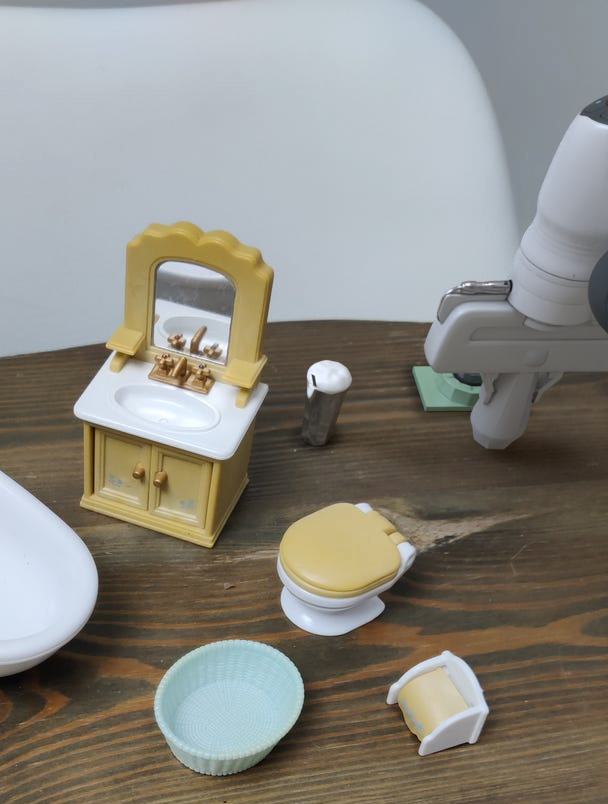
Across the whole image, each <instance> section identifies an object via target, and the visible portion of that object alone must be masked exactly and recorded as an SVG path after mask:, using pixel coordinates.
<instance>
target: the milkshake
mask: <svg viewBox="0 0 608 804" xmlns="http://www.w3.org/2000/svg"><path fill="white" fill-rule="evenodd" d="M352 381H353V378H352V375H351V371H350V370H349V368H347V367H346V366H345V365H343V364H342V363H341V362H339V361H333V360H329V359H325V360H321V361H318V362H315V363H313V364H312V365H310V367H309V368H308V370H307V374H306V383H305V384H306V385H305V398H304V408H303V415H302V416H303V417H302V424H301V425H302V426H301V431H300V432H301V433H300V437H301V439H303V441H304V442H305V444H306V443H307V444H309V445H311V446H313V447H315V446H324V445H326V444H327V443H329V442H330V441H331V438H332V435H333V432H334V430H335V427H336V424H337V421H338V419H339V415H340V412H341V410H342V407H343V404H344V402H345V399H346V397H347V394H348V392H349V389H350V386H351V384H352Z"/></svg>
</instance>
